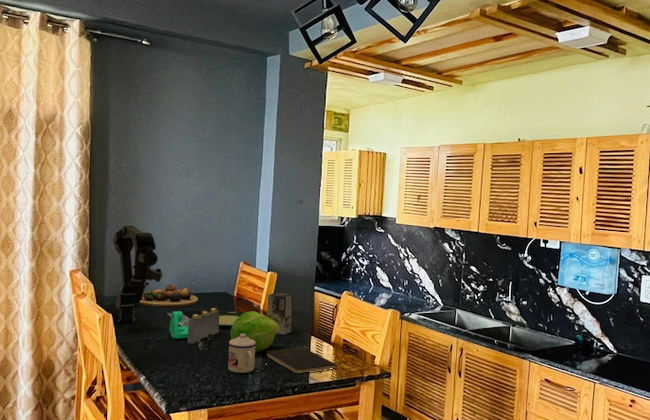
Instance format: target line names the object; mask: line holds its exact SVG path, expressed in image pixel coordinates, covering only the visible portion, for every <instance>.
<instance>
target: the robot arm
mask: <svg viewBox="0 0 650 420" xmlns="http://www.w3.org/2000/svg"><path fill="white" fill-rule="evenodd" d="M112 241H113V245H114V249H115V251H116V253H118V255H119V264H120V265H119V266H120V276H121V288H120V290H119V292H118V296H117V298H116V300H115V307H116V308H117V309H119V319H118V320H117V321H116V322H117V323H126V324H127V323H129V324H131V323H134V322H135V321H136V320H137V319H136V318H134V316H135V315H134V314H135V308H139V305H140V304H139V302H140V301H141V300H142V297H143V294H144V293H145V290H146V287H147V286H149V285H150V282H147V281H153V280H154V281H155V282H158V283H159V282H160V281H161V280H162V278H163V275H164V273H163V272H162V269H161V268H159V267H158V268H156V269H152V266H155V265H156V264H157V263H158V259H159V258H158V255H157V253H156V252H154V250H156V247H157V245H156V242H155V239H154V236H153V235H152V233H151V232H145V231H141V230H139V229H138V228H136V226H134V225H123V227H122V228H121V229H120V230H118V231H116V232H115V233H114V236H113V239H112ZM133 248H134V265H133V266H132V256H131V255H132V254H131V252H132V250H133Z"/></svg>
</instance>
